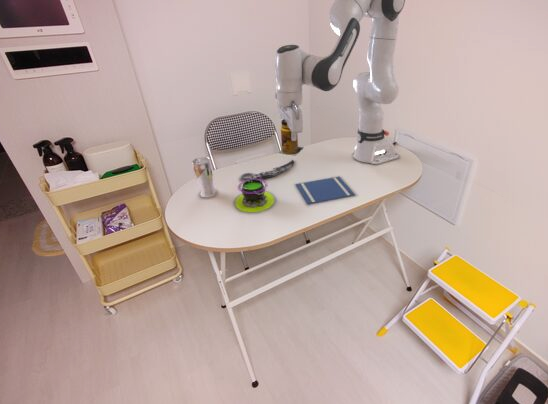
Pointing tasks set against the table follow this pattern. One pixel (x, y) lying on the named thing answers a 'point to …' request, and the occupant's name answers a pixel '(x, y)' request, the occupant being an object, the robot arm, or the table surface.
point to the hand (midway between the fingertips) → (290, 136)
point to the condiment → (288, 141)
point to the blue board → (324, 190)
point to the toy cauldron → (254, 196)
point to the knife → (268, 172)
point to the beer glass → (204, 176)
